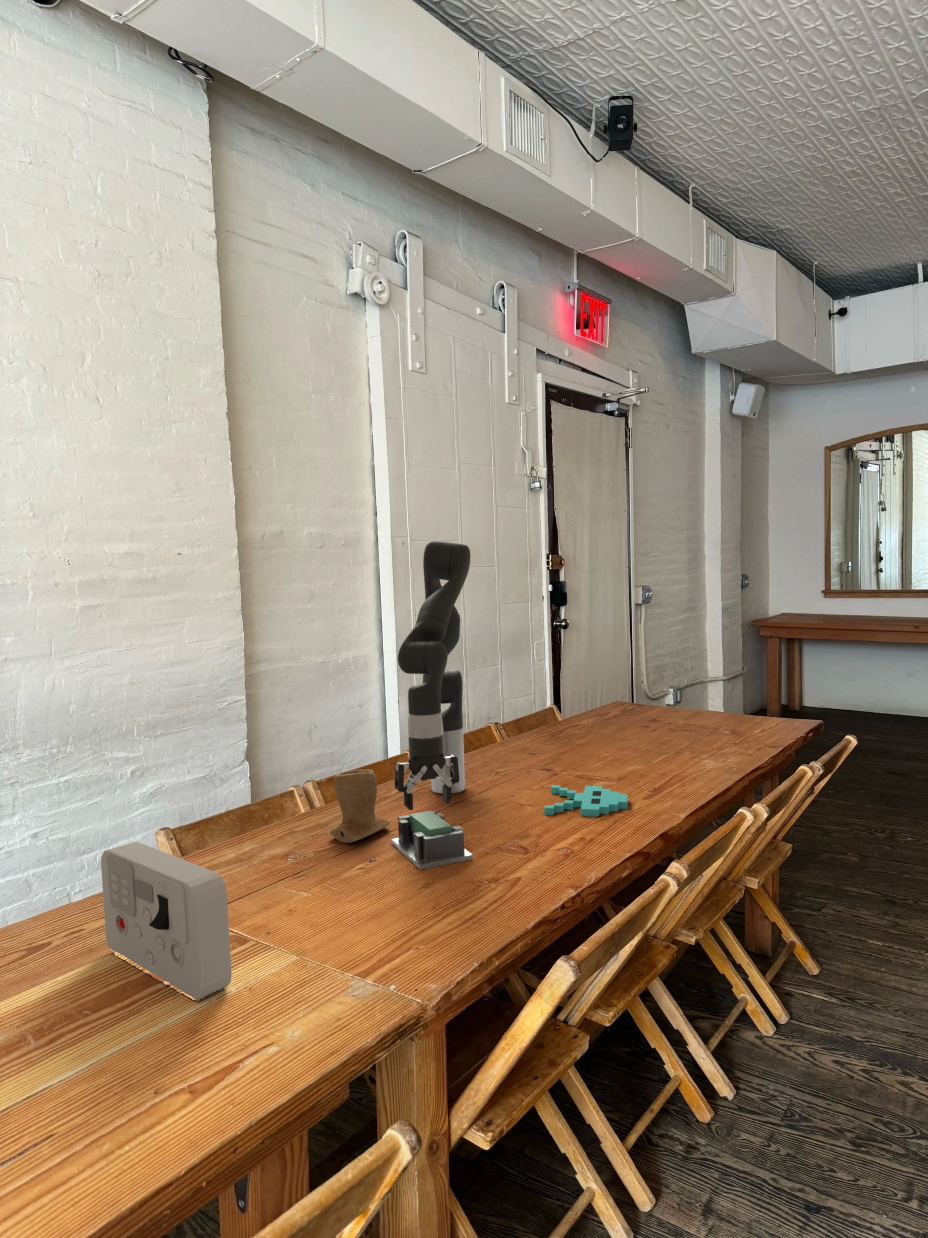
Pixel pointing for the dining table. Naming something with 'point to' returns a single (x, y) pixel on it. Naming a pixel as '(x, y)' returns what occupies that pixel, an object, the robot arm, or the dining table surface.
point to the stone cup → (357, 805)
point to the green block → (429, 824)
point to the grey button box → (167, 917)
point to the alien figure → (588, 801)
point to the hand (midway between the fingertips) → (428, 806)
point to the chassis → (430, 845)
